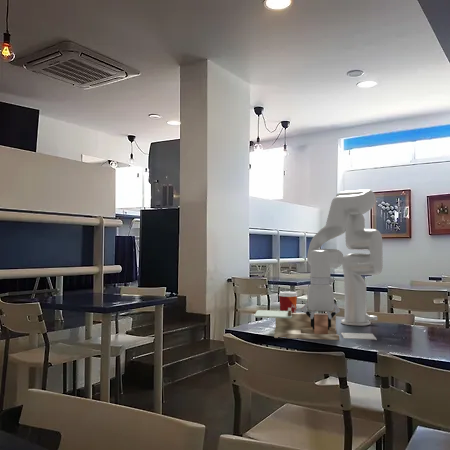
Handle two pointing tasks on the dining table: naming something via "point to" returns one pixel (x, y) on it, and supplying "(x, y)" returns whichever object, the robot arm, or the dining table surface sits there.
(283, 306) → the coffee cup
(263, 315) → the sliding lid
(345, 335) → the grey mat
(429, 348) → the dining table surface
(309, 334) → the wooden box
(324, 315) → the terracotta block
